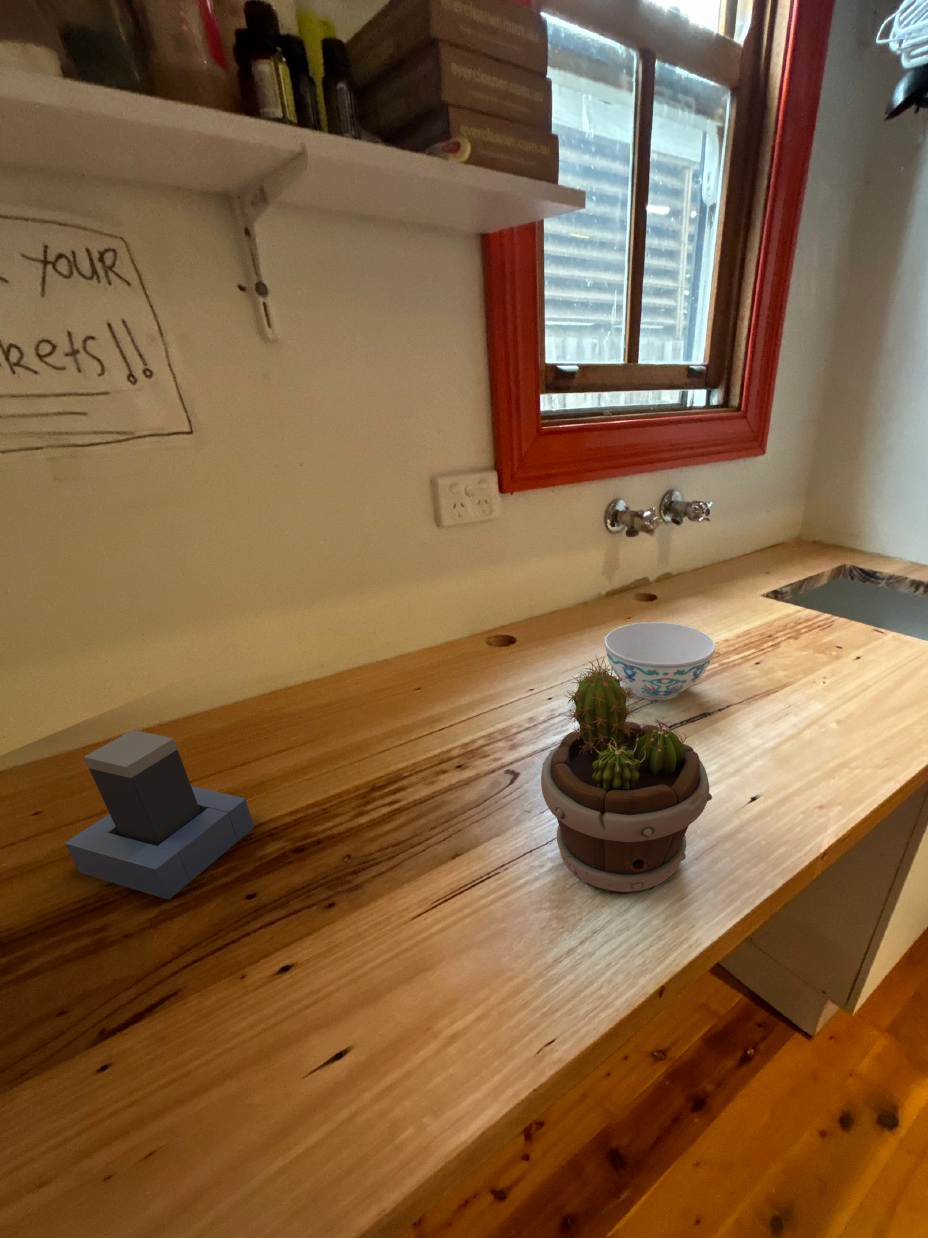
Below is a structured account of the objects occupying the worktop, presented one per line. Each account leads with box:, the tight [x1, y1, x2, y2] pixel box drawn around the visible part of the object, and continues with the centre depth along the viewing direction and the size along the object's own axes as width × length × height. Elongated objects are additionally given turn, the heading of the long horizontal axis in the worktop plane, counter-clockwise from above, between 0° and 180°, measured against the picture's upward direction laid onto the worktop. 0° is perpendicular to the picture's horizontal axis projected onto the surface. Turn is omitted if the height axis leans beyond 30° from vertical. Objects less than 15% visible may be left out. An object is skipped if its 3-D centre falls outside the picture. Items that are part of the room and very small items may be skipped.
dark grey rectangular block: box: [83, 729, 201, 846], centre depth 60 cm, size 5×5×12 cm
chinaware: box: [604, 621, 716, 701], centre depth 90 cm, size 15×15×8 cm
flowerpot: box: [540, 654, 713, 895], centre depth 56 cm, size 14×15×20 cm
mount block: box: [64, 785, 255, 900], centre depth 62 cm, size 11×11×4 cm
